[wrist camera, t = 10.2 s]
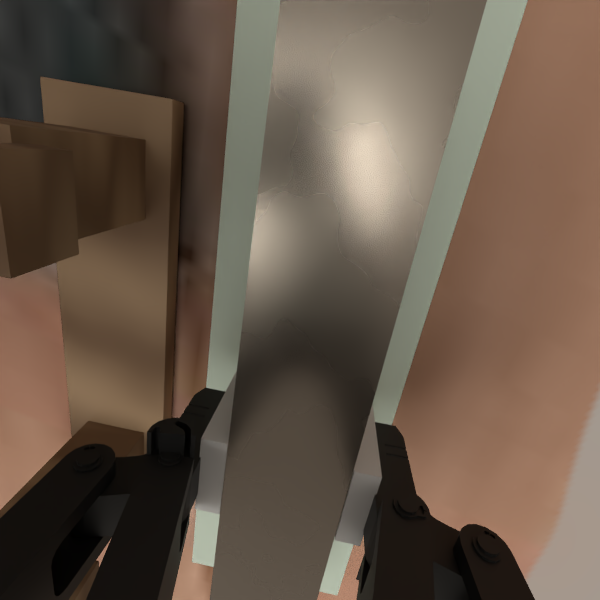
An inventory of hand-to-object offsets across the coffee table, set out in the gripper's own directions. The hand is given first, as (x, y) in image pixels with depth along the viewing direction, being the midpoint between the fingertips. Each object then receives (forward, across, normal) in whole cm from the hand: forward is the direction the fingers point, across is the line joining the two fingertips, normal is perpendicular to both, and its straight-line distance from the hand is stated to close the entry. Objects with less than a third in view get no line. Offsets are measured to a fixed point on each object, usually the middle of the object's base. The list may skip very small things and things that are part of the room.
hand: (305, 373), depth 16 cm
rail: (-3, 0, 0) cm, 3 cm away
